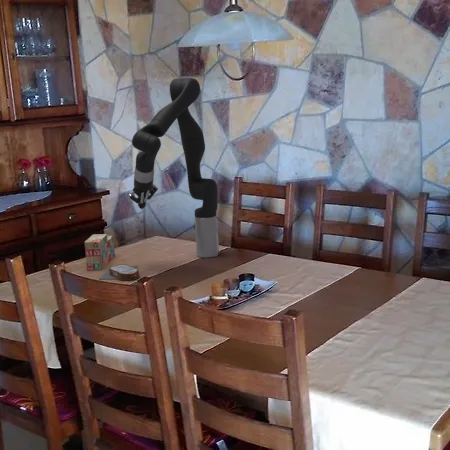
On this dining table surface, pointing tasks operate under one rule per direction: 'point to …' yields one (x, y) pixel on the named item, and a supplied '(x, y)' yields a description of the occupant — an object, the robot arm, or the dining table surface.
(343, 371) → the dining table surface
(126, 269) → the tin
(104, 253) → the stack of blocks
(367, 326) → the dining table surface
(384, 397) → the dining table surface
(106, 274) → the mat
